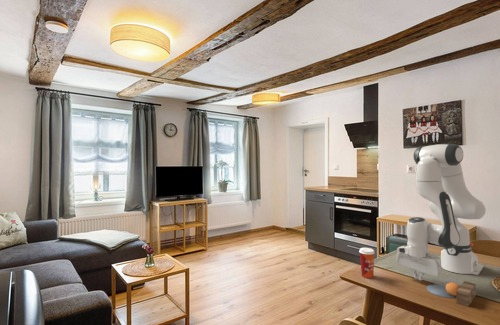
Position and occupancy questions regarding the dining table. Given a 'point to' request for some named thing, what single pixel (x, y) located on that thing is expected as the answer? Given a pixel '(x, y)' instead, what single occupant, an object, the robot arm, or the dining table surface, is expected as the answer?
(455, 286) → the ball
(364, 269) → the paper cup
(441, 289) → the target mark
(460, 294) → the block
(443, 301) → the dining table surface
